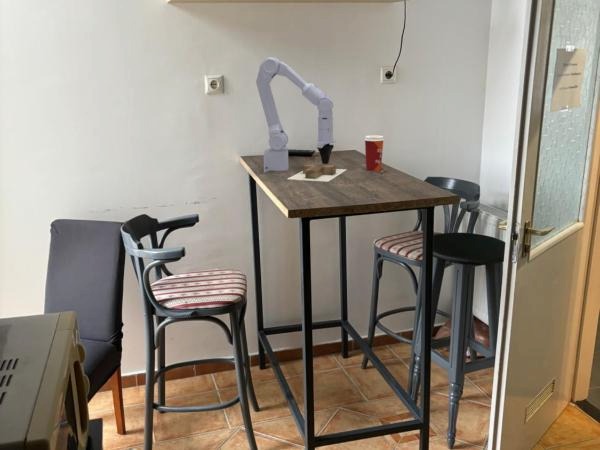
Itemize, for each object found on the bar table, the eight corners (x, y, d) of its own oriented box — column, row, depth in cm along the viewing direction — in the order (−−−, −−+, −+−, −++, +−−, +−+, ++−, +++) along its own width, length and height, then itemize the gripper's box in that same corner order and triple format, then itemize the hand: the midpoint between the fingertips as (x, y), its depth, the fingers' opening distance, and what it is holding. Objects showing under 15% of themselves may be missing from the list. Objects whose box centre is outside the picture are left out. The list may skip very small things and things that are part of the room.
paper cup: (382, 174, 229) (383, 137, 225) (362, 173, 230) (363, 137, 226) (384, 170, 236) (384, 135, 232) (364, 169, 238) (365, 134, 234)
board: (286, 181, 218) (286, 179, 218) (308, 169, 239) (308, 167, 239) (328, 184, 212) (328, 181, 212) (347, 171, 234) (347, 169, 234)
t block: (295, 177, 220) (295, 169, 219) (306, 171, 231) (306, 164, 230) (326, 179, 216) (325, 171, 215) (335, 173, 226) (335, 165, 226)
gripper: (329, 131, 222) (329, 167, 225) (340, 127, 235) (340, 161, 238) (311, 130, 224) (311, 166, 228) (324, 126, 237) (324, 160, 241)
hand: (325, 163), depth 233 cm, fingers closed
